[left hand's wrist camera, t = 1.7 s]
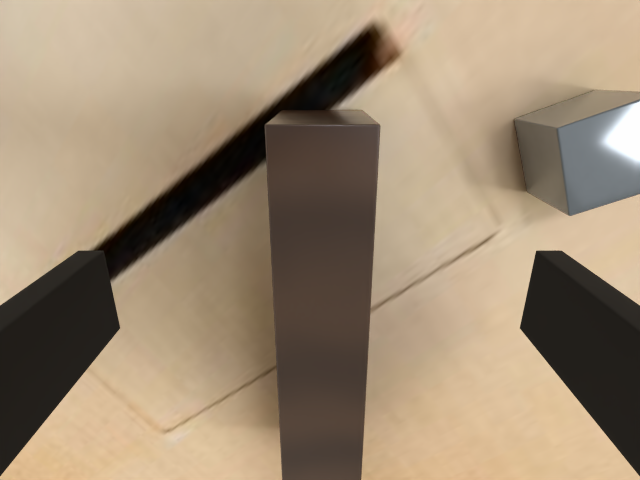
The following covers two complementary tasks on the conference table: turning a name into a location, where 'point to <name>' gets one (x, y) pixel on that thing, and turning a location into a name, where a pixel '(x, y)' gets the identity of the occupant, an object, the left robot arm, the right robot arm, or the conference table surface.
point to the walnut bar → (322, 284)
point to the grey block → (582, 150)
